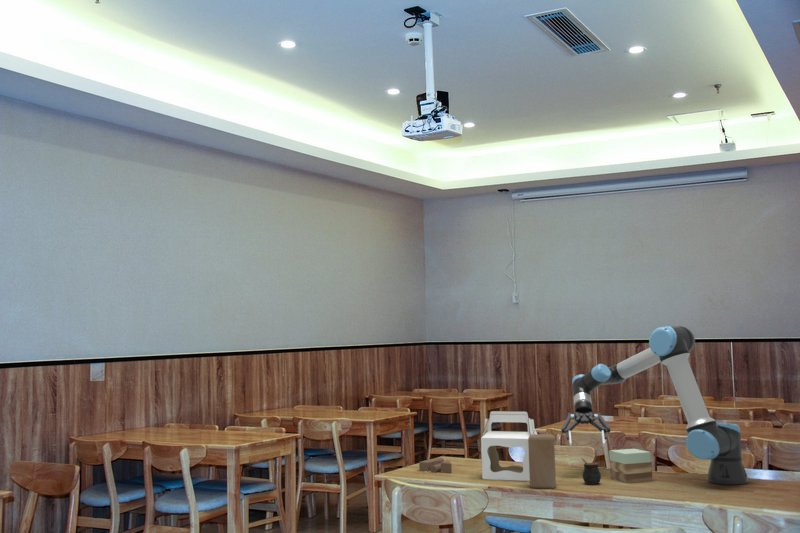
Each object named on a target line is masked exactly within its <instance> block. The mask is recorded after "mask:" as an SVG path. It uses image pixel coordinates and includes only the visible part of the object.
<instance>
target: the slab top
mask: <svg viewBox="0 0 800 533" xmlns="http://www.w3.org/2000/svg"><path fill="white" fill-rule="evenodd" d="M608 455H609V459H608V460H609V461H610V460H611V461H615V462H619V463H623V464H633V463H646V462H652V452H651V451H648V450H643V449H642V450H641V449H637V448H624V449H609V450H608Z"/></svg>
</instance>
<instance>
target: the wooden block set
mask: <svg viewBox="0 0 800 533" xmlns="http://www.w3.org/2000/svg"><path fill="white" fill-rule="evenodd" d="M418 463H419V466H418V467H419V468H418V469H419V472H425V471H427V472H428V471H429V472H431V473H435V474H436V473H438V472H441V473H442V474H452V468H453V467H452V463H451V462H450V460H448V459H447V460H445V459H444V458H443V457H435V458H431V459H429V458H428V459H426V460H422V461H419V462H418Z"/></svg>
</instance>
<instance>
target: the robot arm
mask: <svg viewBox="0 0 800 533" xmlns="http://www.w3.org/2000/svg"><path fill="white" fill-rule="evenodd" d="M648 344H649V347H648V348H646V349H644V350H642V351H640V352H638V353H636V354H634V355H632V356H630V357H628V358H626V359H624V360H622V361H620V362H618V363H616V364H614V365H612V366H607V365H606V364H604V363H598V364H597V365H596V366H593V367H592V368H591V369H590V370H589V371H588V372H587V373H586V374H582V373H581V374H576V375H575V376H574V377H572V381H571V388H572V394H573V405H574V413H571V412H568V413H567V417H566V419H565V421H564V423H563V424H562V426H561V434H565V437H566V438H565V439H566V440H567V441H568V444H569V448H572V446H573V445H572V433H571V432H572V431H573V430H574V429H575V428H576V427H577V426H579V424H581V425H584V424H586V425H589V424H590V425H591V426H594V427H595V429H597V430H599V431H600V433H601V441H602V442H601V444H602V448H605V447H606V441H605V440H607V439H608V434H609V433H611V427H610V425H609V424H608V423H607V422H606V421H605V419H604V418H603V416H602V413H601V412H597V413H594V412H593V406H592V403H593V402H592V395H591V393H592V392H593V391H595V390H596V389H597V388H599V387H600V386H604V385H606V386H607V385H618V384H621V383H624V382H625V381H626V380H627V379H628V378H630V377H632V376H635V375H637V374H638V373H641V372H643V371H645V370H647V369H649V368H650V369H651V368H652V367H653V366H656V365H658V364H660V363H661V364H662V365H664V366H665V367H666V368H667V370H668V373H669V377H670V379H671V382H672V384H673V386H674V389H675V392H676V395H677V398H678V400H679V403H680V406H681V409H682V411H683V413H684V416H685V419H686V421H687V425H686V427H685V430H686V433H687V436H686V439H685V444H686V448H687V450H688V452H689V453H690V454H691V455H692V456H693V457H695V458H697V459H699V460H702V461H703V460H709V461H710V464H709V467H708V471H707V474H706V475H707V476H706V481H707V482H709V483H712V484H717V485H731V486H732V485H733V486H735V485H745V484H747V483H749V477H748V474H747V471H746V470H745V466H744V464H743V457H742V440H741V439H742V437H741V428H740V426H739V424H735V423H725V422H717V421H716V420H715V419H714V418H712V417H711V416H710V414H709V411H708V409H707V406H706V404H705V401H704V398H703V396H702V393H701V391H700V388H699V385H698V383H697V381H696V377H695V375H694V372H693V370H692V366H691V365H690V362H689V357H690V355H691V354H690V352H692V350H693V349H694V347H695V344H696V338H695V335H694V333H693V332H692V330H690V329H689V328H687V327H685V326H679V325H678V326H677V325H676V326H674V325H673V326H669V325H664V326H660V327H657V328H655V329H654V330H653V331H652V332H651V334H650V336H649V340H648ZM573 418H574V420H573ZM595 418H596V419H595ZM571 420H573V421H572V422H571ZM597 420H598V421H597ZM607 433H608V434H607Z"/></svg>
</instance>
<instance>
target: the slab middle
mask: <svg viewBox="0 0 800 533" xmlns="http://www.w3.org/2000/svg"><path fill="white" fill-rule="evenodd" d="M610 470H612V471H616V472H620V473H624V474H635V473H646V472H652V473H653V462H652V461H651V462H646V463H633V464H623V463H619V462H615V461H611V460H609V471H610Z"/></svg>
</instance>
